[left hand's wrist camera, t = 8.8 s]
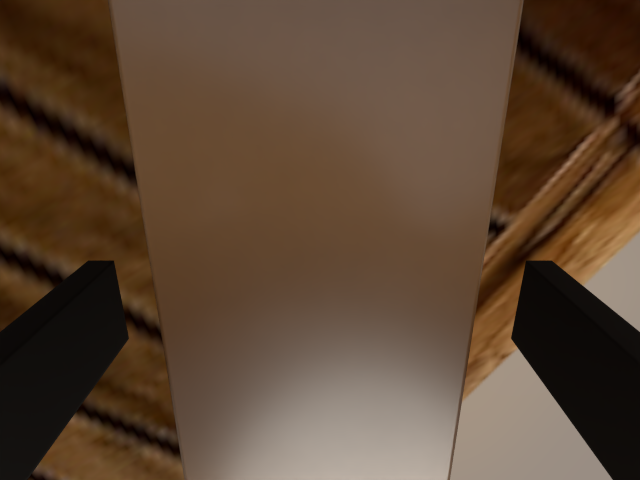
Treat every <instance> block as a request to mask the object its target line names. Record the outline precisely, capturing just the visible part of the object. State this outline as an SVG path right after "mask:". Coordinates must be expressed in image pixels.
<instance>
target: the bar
mask: <svg viewBox="0 0 640 480" xmlns="http://www.w3.org/2000/svg"><path fill="white" fill-rule="evenodd" d="M523 1H524V0H108V4H109V10H110V16H111V22H112V28H113V35H114V41H115V47H116V53H117V60H118V66H119V72H120V78H121V85H122V91H123V97H124V103H125V110H126V116H127V122H128V128H129V135H130V141H131V147H132V153H133V160H134V166H135V172H136V178H137V185H138V191H139V197H140V203H141V209H142V216H143V222H144V228H145V234H146V241H147V247H148V253H149V259H150V266H151V272H152V278H153V284H154V291H155V297H156V303H157V309H158V316H159V322H160V328H161V334H162V341H163V347H164V353H165V359H166V365H167V372H168V378H169V384H170V390H171V397H172V403H173V409H174V415H175V422H176V428H177V434H178V440H179V447H180V453H181V459H182V465H183V472H184V478H185V480H450V474H451V468H452V462H453V455H454V449H455V442H456V436H457V429H458V423H459V416H460V410H461V403H462V397H463V390H464V384H465V377H466V371H467V364H468V358H469V351H470V345H471V338H472V332H473V326H474V319H475V313H476V306H477V300H478V293H479V287H480V280H481V274H482V267H483V261H484V254H485V248H486V241H487V235H488V228H489V222H490V215H491V209H492V202H493V196H494V189H495V183H496V176H497V170H498V163H499V157H500V150H501V144H502V137H503V131H504V125H505V118H506V112H507V105H508V99H509V92H510V86H511V79H512V73H513V66H514V60H515V53H516V47H517V40H518V34H519V27H520V21H521V14H522V8H523Z"/></svg>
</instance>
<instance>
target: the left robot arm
mask: <svg viewBox="0 0 640 480" xmlns="http://www.w3.org/2000/svg"><path fill="white" fill-rule="evenodd" d="M128 339H129V337H128V332H127V326H126V321H125V316H124V311H123V306H122V300H121V295H120V290H119V285H118V280H117V274H116V269H115V264H114V261H87V262H86V263H85V264H84V265H82V266H81V267H80V268H79V269H77V270H76V271H75V272H74V273H73V274H71V275H70V276H69V277H68V278H66V279H65V280H64V281H63V282H61V283H60V284H59V285H58V286H56V287H55V288H54V289H53V290H52V291H50V292H49V293H48V294H47V295H45V296H44V297H43V298H42V299H40V300H39V301H38V302H37V303H36V304H34V305H33V306H32V307H31V308H29V309H28V310H27V311H26V312H24V313H23V314H22V315H21V316H19V317H18V318H17V319H16V320H15V321H13V322H12V323H11V324H10V325H8V326H7V327H6V328H5V329H3V330H2V331H1V332H0V480H27V479H28V478H29V477H30V475H31V474H32V472H33V471H34V470H35V468H36V467H37V465H38V464H39V463H40V461H41V460H42V458H43V457H44V456H45V454H46V453H47V451H48V450H49V449H50V447H51V446H52V445H53V443H54V442H55V440H56V439H57V438H58V436H59V435H60V433H61V432H62V431H63V429H64V428H65V426H66V425H67V424H68V422H69V421H70V420H71V418H72V417H73V415H74V414H75V413H76V411H77V410H78V408H79V407H80V406H81V404H82V403H83V401H84V400H85V399H86V397H87V396H88V395H89V393H90V392H91V390H92V389H93V388H94V386H95V385H96V383H97V382H98V381H99V379H100V378H101V376H102V375H103V374H104V372H105V371H106V370H107V368H108V367H109V365H110V364H111V363H112V361H113V360H114V358H115V357H116V356H117V354H118V353H119V351H120V350H121V349H122V347H123V346H124V345H125V343H126V342H127V340H128ZM511 339H512V340H513V342H514V343H515V345H516V346H517V347H518V349H519V350H520V351H521V353H522V354H523V356H524V357H525V358H526V360H527V361H528V362H529V364H530V365H531V367H532V368H533V370H534V371H535V372H536V374H537V375H538V376H539V378H540V379H541V381H542V382H543V383H544V385H545V386H546V388H547V389H548V390H549V392H550V393H551V395H552V396H553V397H554V399H555V400H556V401H557V403H558V404H559V405H560V407H561V408H562V410H563V411H564V413H565V414H566V415H567V417H568V418H569V419H570V421H571V422H572V424H573V425H574V426H575V428H576V429H577V431H578V432H579V433H580V435H581V436H582V438H583V439H584V440H585V442H586V443H587V445H588V446H589V447H590V449H591V450H592V451H593V453H594V454H595V456H596V457H597V458H598V460H599V461H600V463H601V464H602V465H603V467H604V468H605V469H606V471H607V472H608V474H609V475H610V476H611V478H612V479H613V480H640V332H639V331H638V330H637V329H635V328H634V327H633V326H632V325H630V324H629V323H628V322H627V321H625V320H624V319H623V318H622V317H620V316H619V315H618V314H617V313H616V312H614V311H613V310H612V309H611V308H609V307H608V306H607V305H606V304H604V303H603V302H602V301H601V300H599V299H598V298H597V297H596V296H595V295H593V294H592V293H591V292H590V291H588V290H587V289H586V288H585V287H584V286H582V285H581V284H580V283H579V282H577V281H576V280H575V279H574V278H572V277H571V276H570V275H569V274H567V273H566V272H565V271H564V270H563V269H561V268H560V267H559V266H558V265H556V264H555V263H554V262H553V261H526V264H525V269H524V275H523V280H522V285H521V290H520V295H519V300H518V306H517V311H516V316H515V321H514V326H513V332H512V337H511Z"/></svg>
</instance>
